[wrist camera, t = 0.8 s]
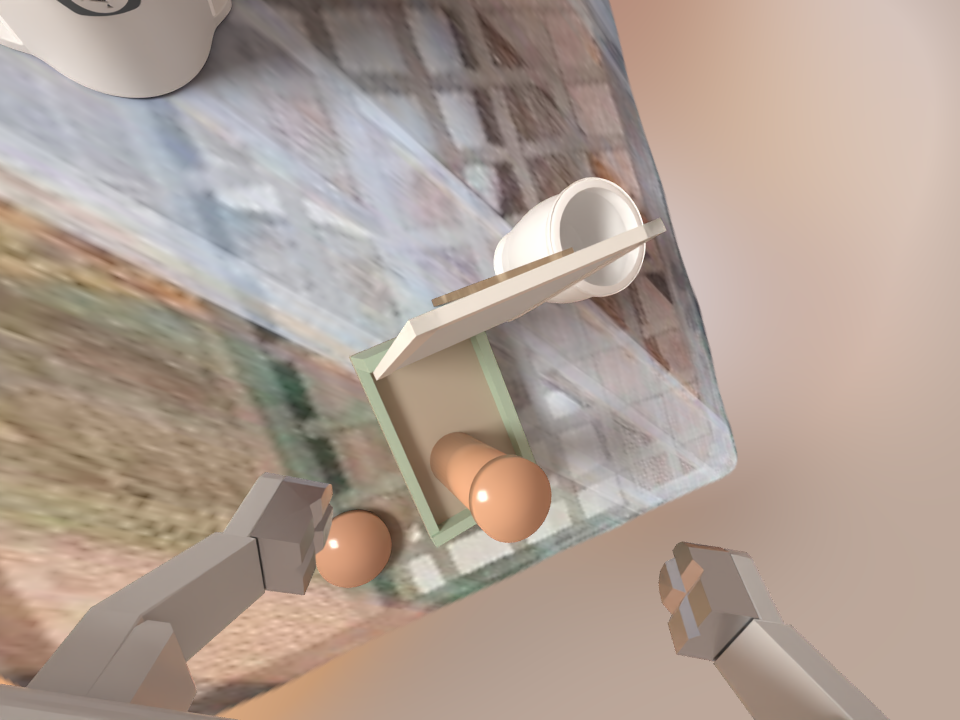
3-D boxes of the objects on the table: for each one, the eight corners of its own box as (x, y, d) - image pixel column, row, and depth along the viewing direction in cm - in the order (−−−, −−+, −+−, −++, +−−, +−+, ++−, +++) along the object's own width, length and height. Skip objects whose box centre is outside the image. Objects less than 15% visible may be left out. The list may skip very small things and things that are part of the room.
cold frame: (349, 356, 47) (363, 359, 36) (465, 308, 52) (510, 297, 41) (429, 536, 51) (465, 589, 40) (531, 476, 55) (589, 509, 44)
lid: (376, 380, 36) (373, 372, 36) (519, 317, 40) (516, 310, 40) (416, 336, 18) (408, 319, 18) (666, 230, 22) (660, 217, 22)
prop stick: (431, 299, 50) (561, 251, 25) (437, 297, 50) (572, 247, 25) (434, 306, 50) (565, 265, 25) (440, 304, 51) (576, 260, 25)
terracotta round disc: (302, 534, 46) (302, 538, 45) (372, 496, 48) (374, 500, 47) (333, 596, 47) (334, 602, 46) (400, 556, 50) (402, 561, 48)
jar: (470, 238, 52) (532, 197, 38) (542, 209, 55) (624, 161, 41) (505, 323, 54) (577, 314, 40) (573, 290, 57) (661, 271, 43)
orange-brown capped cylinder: (416, 445, 49) (462, 484, 35) (470, 418, 51) (534, 444, 37) (440, 500, 50) (494, 558, 36) (492, 470, 52) (562, 515, 38)
